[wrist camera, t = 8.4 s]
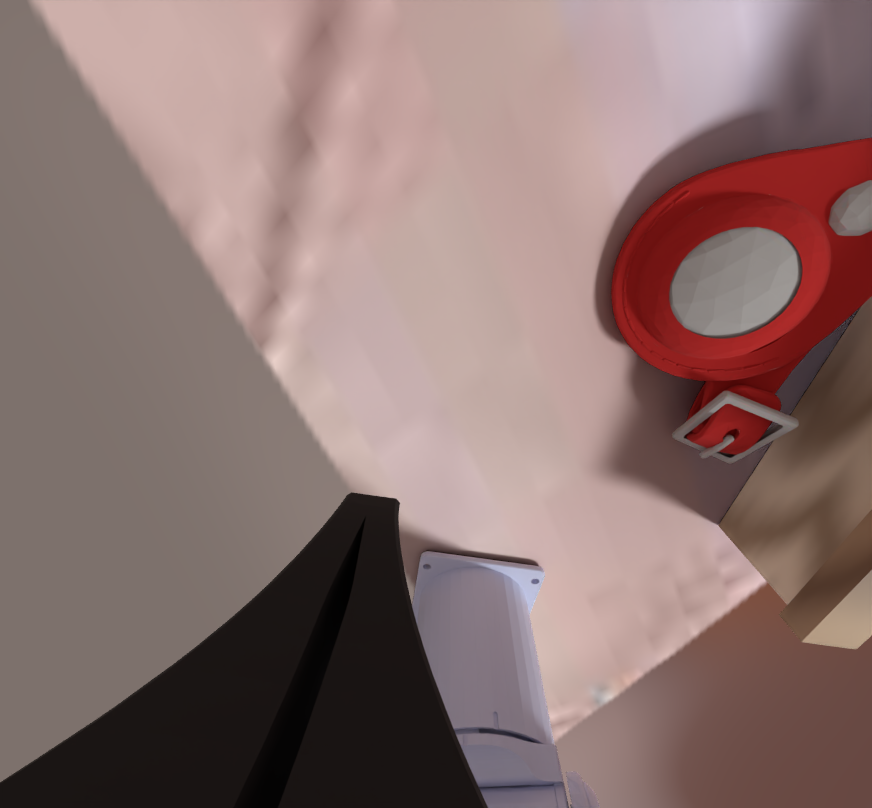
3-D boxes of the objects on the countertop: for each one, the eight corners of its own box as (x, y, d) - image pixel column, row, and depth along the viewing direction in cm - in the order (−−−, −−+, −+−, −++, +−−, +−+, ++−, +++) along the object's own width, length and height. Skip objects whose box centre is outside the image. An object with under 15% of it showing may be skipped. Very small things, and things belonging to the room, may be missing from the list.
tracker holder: (563, 262, 15) (910, 24, 10) (569, 258, 19) (822, 84, 13) (705, 499, 16) (1071, 401, 11) (684, 450, 20) (952, 360, 15)
